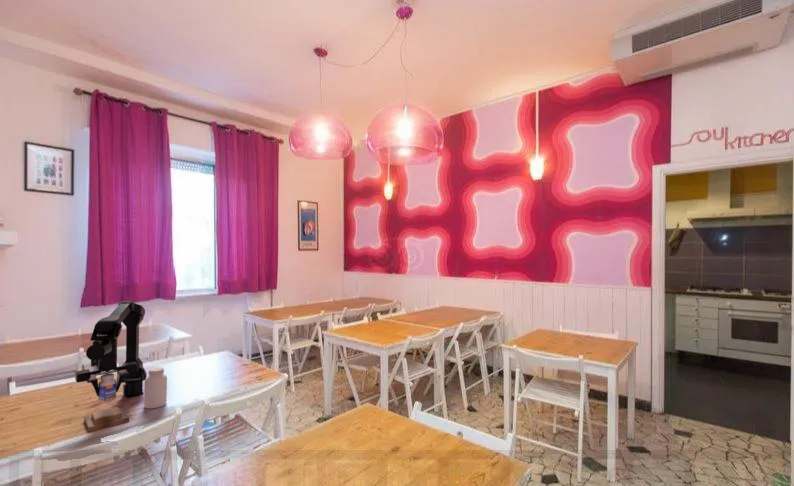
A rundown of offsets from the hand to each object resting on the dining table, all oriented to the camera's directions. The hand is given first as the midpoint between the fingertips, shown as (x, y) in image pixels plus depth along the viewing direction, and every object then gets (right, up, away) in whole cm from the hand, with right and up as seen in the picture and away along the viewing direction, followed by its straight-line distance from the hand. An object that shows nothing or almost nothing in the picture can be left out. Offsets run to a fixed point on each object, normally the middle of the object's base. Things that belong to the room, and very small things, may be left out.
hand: (107, 393), depth 146 cm
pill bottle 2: (+9, -11, +15) cm, 20 cm away
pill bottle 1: (0, -3, 0) cm, 3 cm away
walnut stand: (0, -10, 0) cm, 10 cm away
